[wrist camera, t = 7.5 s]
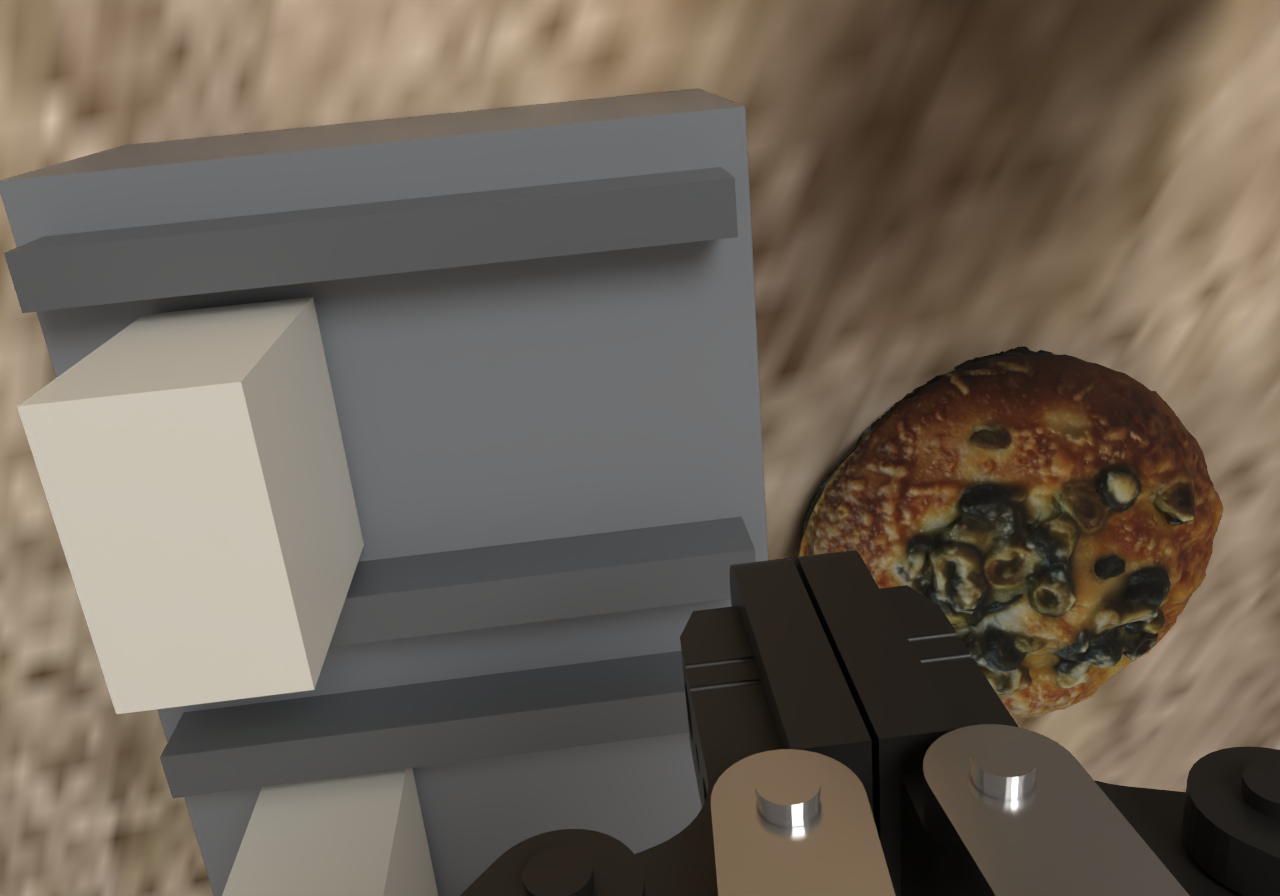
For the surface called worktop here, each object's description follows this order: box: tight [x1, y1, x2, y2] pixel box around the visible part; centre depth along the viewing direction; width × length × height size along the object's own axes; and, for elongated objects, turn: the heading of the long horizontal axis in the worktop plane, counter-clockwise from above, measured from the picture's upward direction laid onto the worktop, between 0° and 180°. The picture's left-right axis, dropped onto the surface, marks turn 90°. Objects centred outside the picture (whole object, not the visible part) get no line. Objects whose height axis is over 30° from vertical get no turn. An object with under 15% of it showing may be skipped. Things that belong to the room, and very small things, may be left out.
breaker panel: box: [0, 89, 768, 896], centre depth 25 cm, size 13×20×8 cm, turn 5°
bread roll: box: [798, 347, 1223, 718], centre depth 28 cm, size 11×11×5 cm
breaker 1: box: [17, 297, 364, 714], centre depth 18 cm, size 3×5×5 cm, turn 5°
